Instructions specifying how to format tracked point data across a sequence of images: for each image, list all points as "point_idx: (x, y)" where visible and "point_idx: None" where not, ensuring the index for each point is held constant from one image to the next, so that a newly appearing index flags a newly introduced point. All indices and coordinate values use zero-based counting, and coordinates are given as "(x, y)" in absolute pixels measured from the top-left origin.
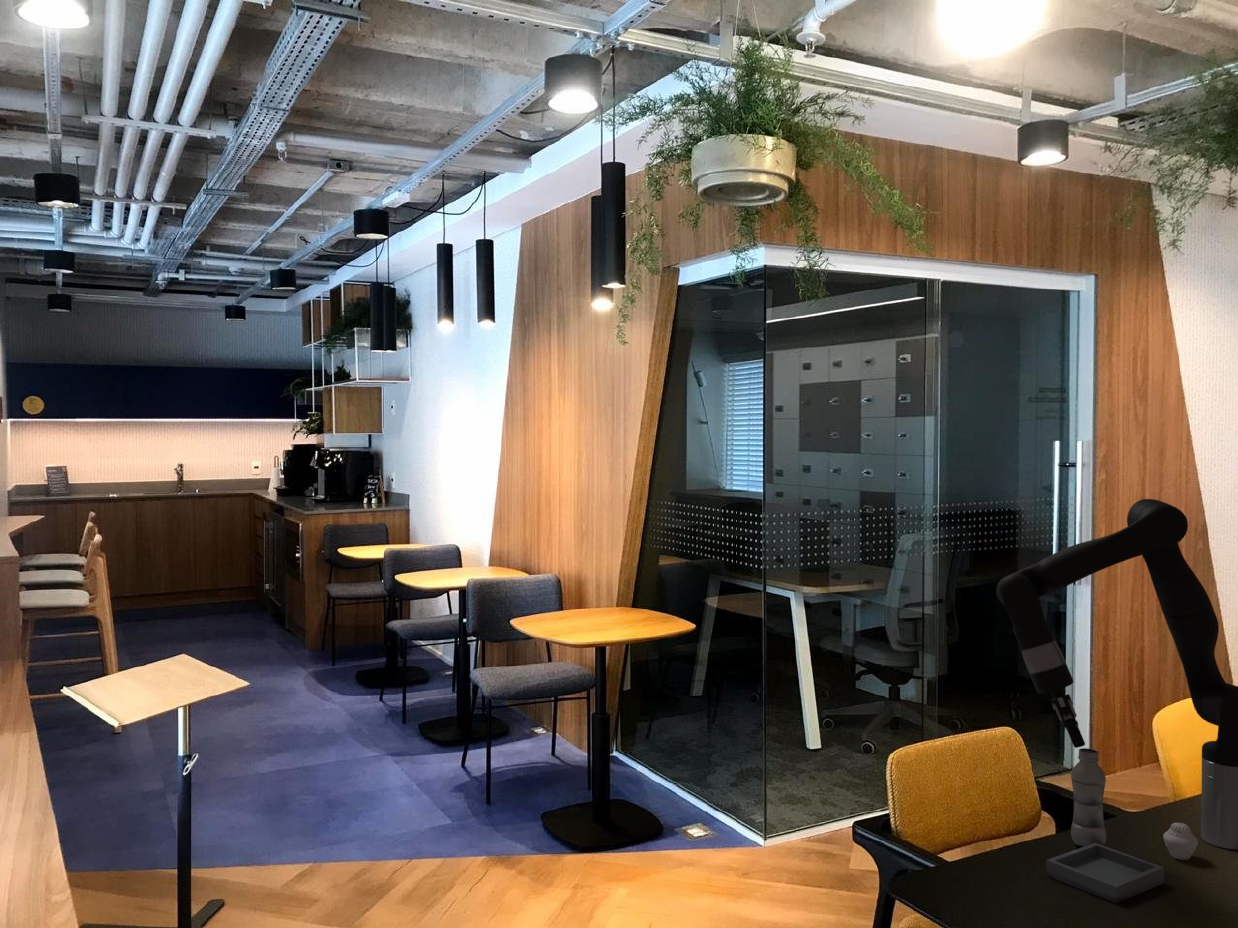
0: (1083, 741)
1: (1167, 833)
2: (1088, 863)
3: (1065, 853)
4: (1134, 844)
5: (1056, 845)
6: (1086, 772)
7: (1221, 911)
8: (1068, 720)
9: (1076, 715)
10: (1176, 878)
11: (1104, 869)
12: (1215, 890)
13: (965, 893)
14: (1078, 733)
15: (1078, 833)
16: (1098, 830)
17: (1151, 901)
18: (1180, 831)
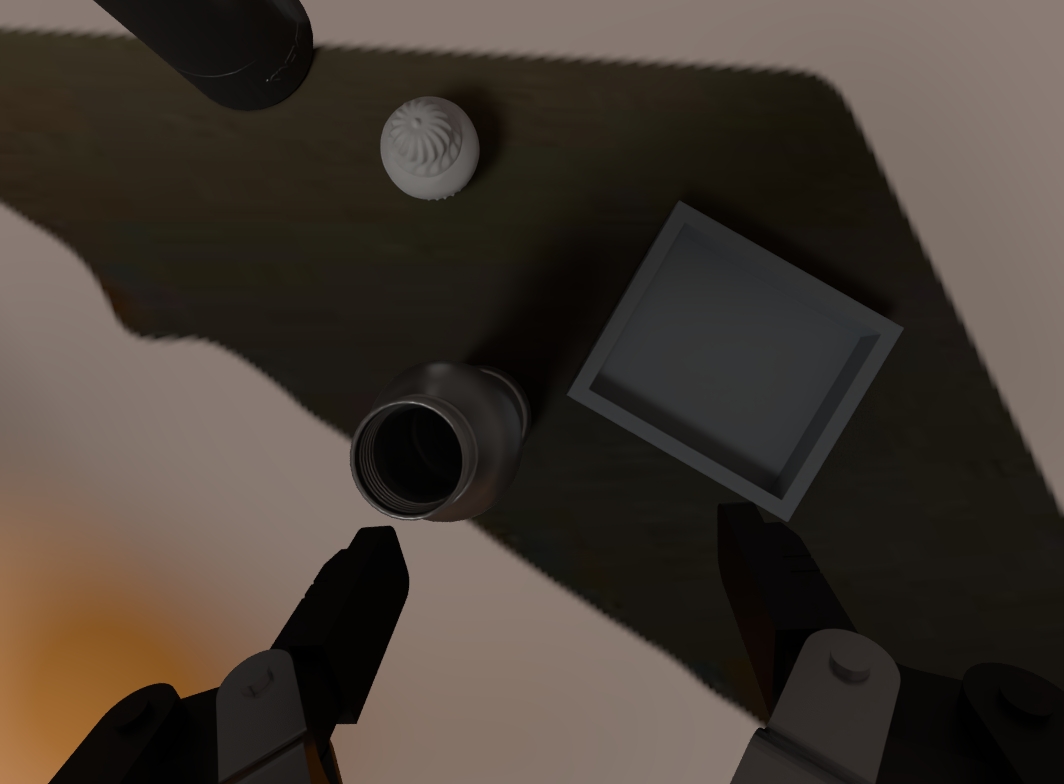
0: (758, 519)
1: (435, 179)
2: (662, 407)
3: (704, 473)
4: (403, 292)
5: (522, 499)
6: (504, 451)
7: (793, 84)
8: (324, 717)
9: (757, 733)
10: (616, 185)
11: (687, 364)
12: (654, 92)
13: None
14: (834, 594)
15: (522, 445)
16: (513, 387)
17: (813, 248)
18: (450, 131)
